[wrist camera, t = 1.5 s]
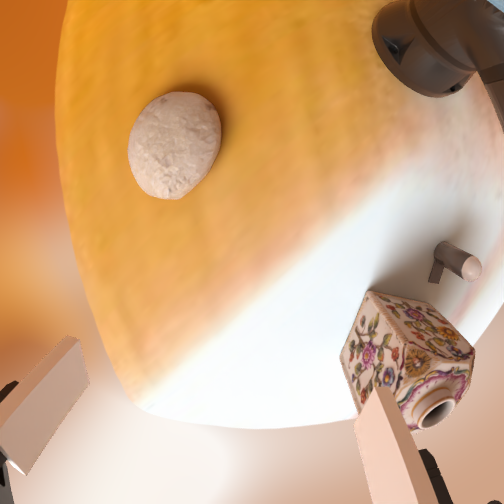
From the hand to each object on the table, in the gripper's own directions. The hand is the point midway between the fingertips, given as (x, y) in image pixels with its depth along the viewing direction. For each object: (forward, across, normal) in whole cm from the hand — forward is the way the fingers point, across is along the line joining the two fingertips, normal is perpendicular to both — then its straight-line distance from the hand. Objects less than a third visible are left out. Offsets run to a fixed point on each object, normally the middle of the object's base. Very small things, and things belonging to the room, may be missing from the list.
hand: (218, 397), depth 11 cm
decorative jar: (+25, +21, -10) cm, 34 cm away
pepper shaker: (+25, +27, +3) cm, 37 cm away
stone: (+25, -10, +11) cm, 29 cm away
